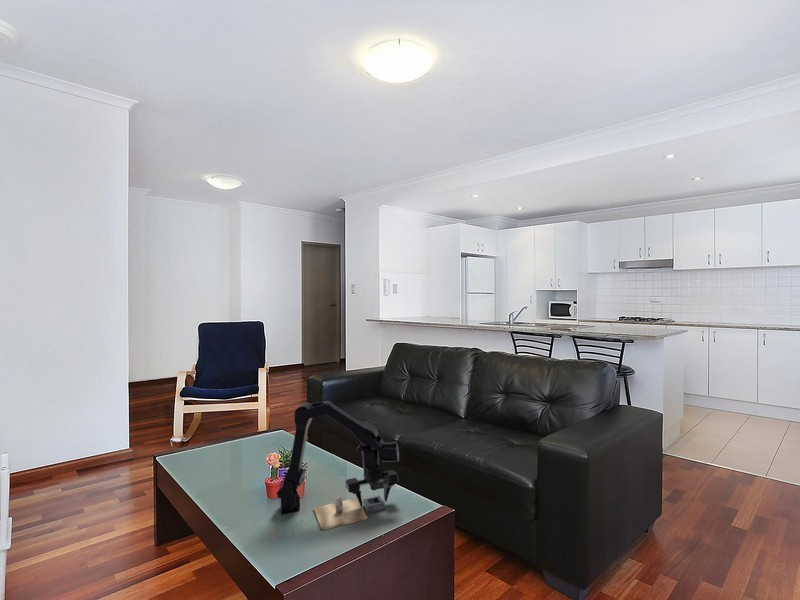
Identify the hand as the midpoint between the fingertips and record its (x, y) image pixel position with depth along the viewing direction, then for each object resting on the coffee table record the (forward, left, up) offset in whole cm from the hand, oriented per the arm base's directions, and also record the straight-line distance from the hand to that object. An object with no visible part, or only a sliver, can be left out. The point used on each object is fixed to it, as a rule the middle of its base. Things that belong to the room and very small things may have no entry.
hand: (373, 504), depth 164 cm
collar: (0, 0, -1) cm, 1 cm away
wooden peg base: (-12, +1, -1) cm, 13 cm away
